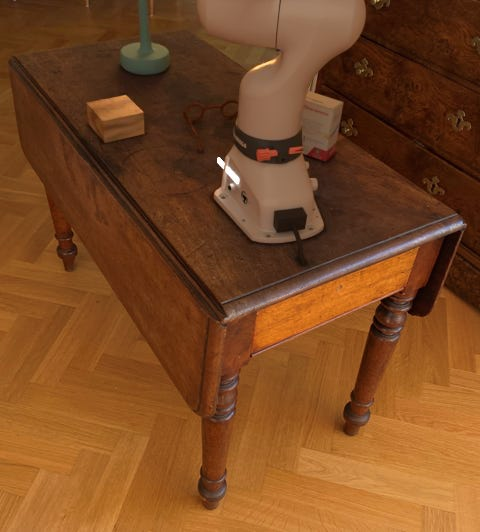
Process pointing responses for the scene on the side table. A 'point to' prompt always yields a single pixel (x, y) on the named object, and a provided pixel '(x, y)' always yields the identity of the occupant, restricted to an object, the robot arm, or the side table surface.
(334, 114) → the ink box
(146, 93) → the side table surface
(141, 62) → the mug tree
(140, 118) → the block
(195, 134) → the glasses
